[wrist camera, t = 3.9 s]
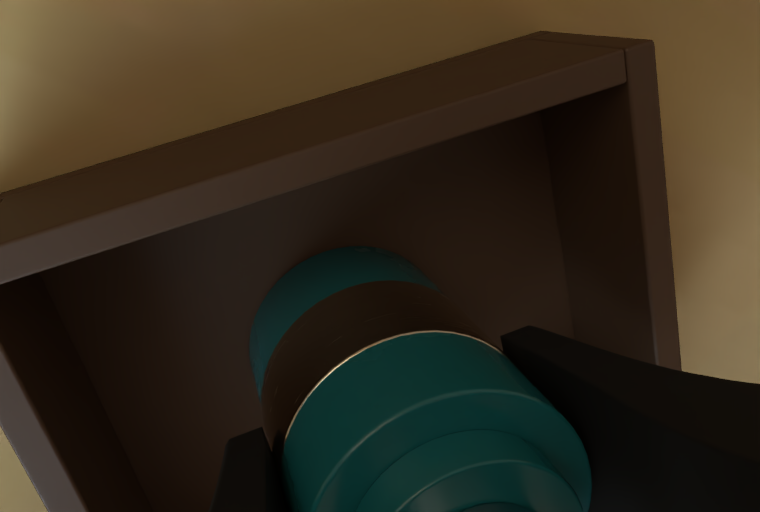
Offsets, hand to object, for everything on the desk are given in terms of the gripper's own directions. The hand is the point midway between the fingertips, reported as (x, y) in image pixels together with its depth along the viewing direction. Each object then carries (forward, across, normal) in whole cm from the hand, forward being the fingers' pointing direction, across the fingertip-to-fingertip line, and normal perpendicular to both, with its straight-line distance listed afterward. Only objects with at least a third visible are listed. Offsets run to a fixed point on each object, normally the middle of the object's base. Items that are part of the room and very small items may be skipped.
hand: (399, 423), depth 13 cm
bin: (+4, 0, 0) cm, 4 cm away
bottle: (+4, 0, 0) cm, 4 cm away
